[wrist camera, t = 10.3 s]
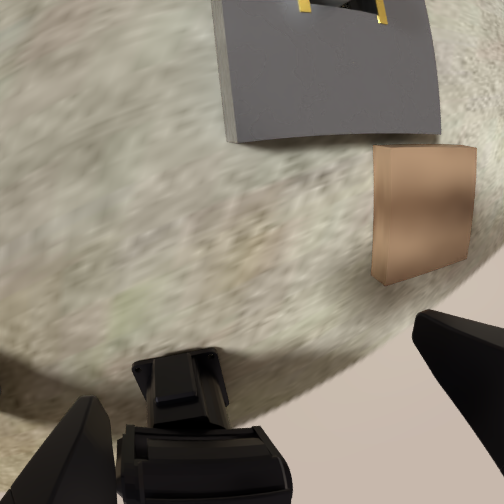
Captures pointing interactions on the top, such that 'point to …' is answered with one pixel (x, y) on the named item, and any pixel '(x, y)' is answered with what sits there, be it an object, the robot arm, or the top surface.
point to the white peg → (329, 2)
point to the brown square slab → (421, 208)
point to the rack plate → (325, 68)
